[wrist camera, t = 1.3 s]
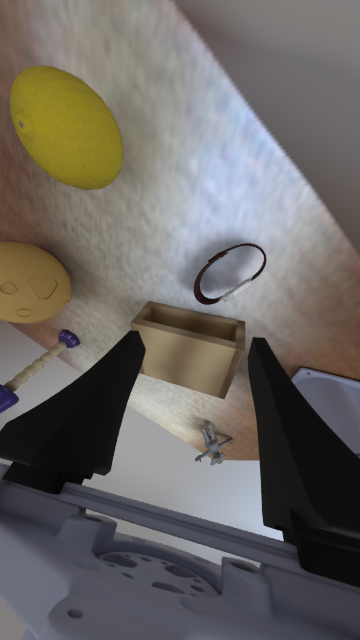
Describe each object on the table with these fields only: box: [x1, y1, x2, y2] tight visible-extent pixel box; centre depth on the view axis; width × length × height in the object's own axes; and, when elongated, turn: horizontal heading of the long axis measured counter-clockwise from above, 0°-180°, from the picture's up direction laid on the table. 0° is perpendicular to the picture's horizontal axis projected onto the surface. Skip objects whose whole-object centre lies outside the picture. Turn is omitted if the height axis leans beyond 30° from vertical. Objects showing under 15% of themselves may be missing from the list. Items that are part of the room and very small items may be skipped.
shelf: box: [131, 302, 245, 399], centre depth 24 cm, size 13×10×5 cm
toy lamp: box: [0, 330, 79, 413], centre depth 29 cm, size 5×5×17 cm
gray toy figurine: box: [195, 422, 233, 465], centre depth 40 cm, size 10×6×9 cm
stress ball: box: [0, 242, 71, 324], centre depth 22 cm, size 10×10×10 cm
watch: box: [194, 243, 266, 305], centre depth 17 cm, size 8×5×4 cm, turn 136°
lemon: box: [10, 66, 123, 190], centre depth 12 cm, size 6×6×8 cm
